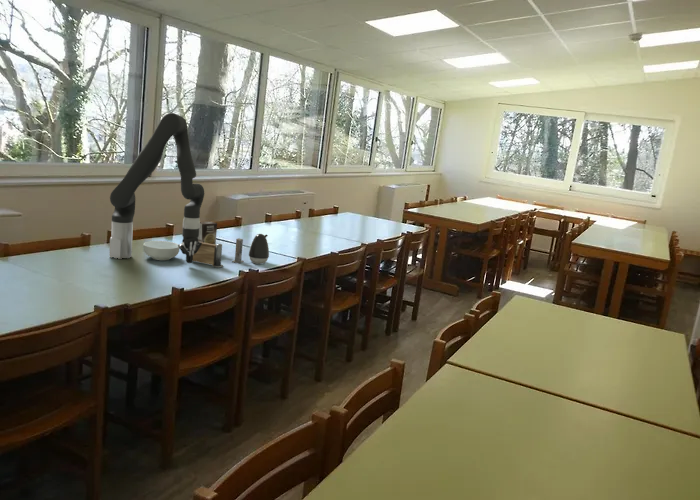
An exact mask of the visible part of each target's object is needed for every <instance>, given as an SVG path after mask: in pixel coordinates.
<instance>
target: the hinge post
mask: <svg viewBox="0 0 700 500" xmlns="http://www.w3.org/2000/svg"><path fill="white" fill-rule="evenodd" d="M222 253H223V244H222V243H216V255H215V265H211V266H212V268H216V269H221V268H224V264H222Z"/></svg>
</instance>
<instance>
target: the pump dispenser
mask: <svg viewBox="0 0 700 500" xmlns="http://www.w3.org/2000/svg"><path fill="white" fill-rule="evenodd" d="M267 239H268V234H262V233H257V234H256V235H255V236H254V238H253V239H252V241H251V244H250V247H249V252H248V257H249V260H250V261H251V262H252V263H253V264H256V265H264V264H265V263H266V262H267V261H268V259H269V258H270V250H269V249H270V248H269V243H268V240H267Z"/></svg>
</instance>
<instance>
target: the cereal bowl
mask: <svg viewBox="0 0 700 500" xmlns="http://www.w3.org/2000/svg"><path fill="white" fill-rule="evenodd" d="M142 245H143V247H142V248H143V252H144V254H145V255H147V256H148V257H150V258H152V259H153V260H155V261H169V260H170V259H173V258H175V257H177V256H178V254H179V253H180V248H179V247H178V245H179V243H176V242H173V241H168V240H167V241H166V240H150V241H145V242H144V243H143V244H142Z"/></svg>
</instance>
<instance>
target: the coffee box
mask: <svg viewBox="0 0 700 500" xmlns="http://www.w3.org/2000/svg"><path fill="white" fill-rule="evenodd" d="M217 228H218V223H217V222H214V221H200V228H199V237H198V241H199V242H204V243H209V244H214V245H216V244H217V232H218V231H217V230H218V229H217Z"/></svg>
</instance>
